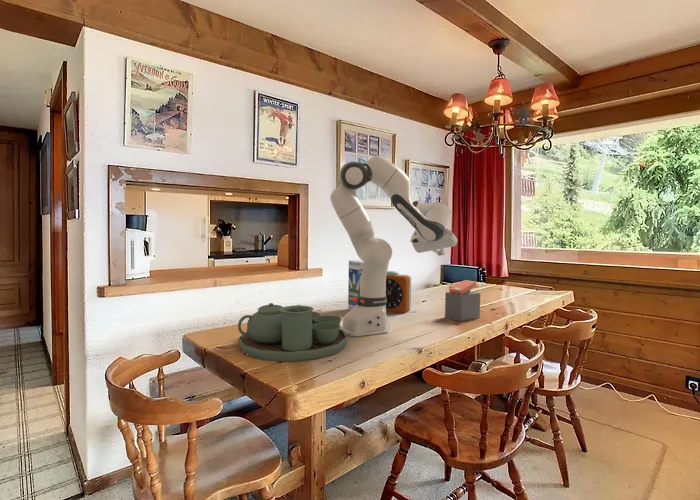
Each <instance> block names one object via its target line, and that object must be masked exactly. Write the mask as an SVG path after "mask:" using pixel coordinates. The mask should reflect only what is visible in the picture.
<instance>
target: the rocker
mask: <svg viewBox="0 0 700 500" xmlns="http://www.w3.org/2000/svg"><path fill="white" fill-rule="evenodd" d="M476 286H477V282H476V281H473V280H467V279H464V280H462V281H461V282H459V283H457V284H455V285H453V286H452V287H450V288H449V292H450V293H455V294H460V295H462V294H464V293H465V292H466V293H469V292H470V291H471V290H472V289H474V288H475V287H476Z"/></svg>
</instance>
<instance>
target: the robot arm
mask: <svg viewBox="0 0 700 500" xmlns="http://www.w3.org/2000/svg"><path fill="white" fill-rule="evenodd" d="M338 175H339V176H338V177H339V179H338V180H339V186H338V187H336V188H334V190H333V191H332V192H331V193H330V202H331V204H332V207H333V209H334V212H335V214H336V215H337V217H338V219H339V220H340V222H341V224H342V226H343V227H344V229H345V231H346V233H347V235H348V237H349V239H350V241H351V244H352V246H353V249H354V250H355V252H356V255H357V256H358V258H359V260H363V261H364V264H363V270H362V274H361V276H360V295H359V297H358V298H356V297H352V301H353V302H357V303H356V304H357V305H356V306H354V307H353V308H352V309H351V310H349V311H347V313H345V315H344V317H343V320H342V321H343V322H342V325H340V326H341V328H340V329H341V330H343V331H344V332H345V334H346V336H349V337H363V336H373V335H379V334H380V335H381V334H387V333H388V331H389V330H390V326H389V322H388V316H387V311H386V304H387V296H386V275H387V271H389V270H388V269H389V266H390V265H389V264H390V260H391V259H392V256H393V249H392V246H391V245H390V244H389V243H388V241H386V240H384V239H382V238H378V237H377V235H376V233H375V231H374V229H373V227H374V226H373V224H372V221H371V218H370V217H369V214H368V213H367V211H366V210H365V208H364V206H363V205H362V203H361V201H360V199H359V197H358V194H357V190H358V189H361V188H363V187H364V186H365V185H367V184H368V183H370V182H371V183H372V184H374V185H376V186H378V188H379V189H381V191H383V192H384V193H385V194H386V195H387V197H388V198H389V199H390V202H391V204H392V206H393V207H394V208H395V209H396V210H397V212H399V214H400V215H402V217H404V219H406V221H408V223H409V224H410V226H411V227H412V228H413V229H414V231H413V233H412V235H411V237H410V243H411V244H412V247H413V249H414V251H416V253H419V254H421V253H426V252H430V251H432V252H433V253H435V254H437V256H439V257H441V256H444V255H445V254H446V252H445V249H446V248H453V247H455V246H457V243H458V237H456V235H455V234H454V232H453V231H452V230H451V229H448V228H446V226H447V224H448V221H449V220H450V216H451V209H450V208H449V206H448V205H447V204H446V203H444V202H441V201H435V202H429V203H426V202H422V201H419V200H415V201H413V202H412V200H411V199H410V198H411V197H410V179H409V176H408V175H407V174H406V173H405V171H403V170H402V169H401V168H400V167H398V166H397V165H396V164H395V163H392V162H391V161H390V160H388V159H386V158H384V157H383V156H380V155H373V156H372V157H370V158H369V159H368V160H367V161H366V162H365V163H364V162H357V161H353V160H352V161H347V162H346V163H344V164H343V165H342V166H341V167H340V170H339V173H338Z"/></svg>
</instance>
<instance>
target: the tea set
mask: <svg viewBox="0 0 700 500" xmlns="http://www.w3.org/2000/svg"><path fill="white" fill-rule="evenodd" d="M314 309H315V308H314V307H312V306H309V305H301V304H296V305H287V306H282V305H279V304H274V303H272V302H270V303H268V304H265V305H262V306H260V307H258V309H257V312H255V313H253V314H245V315H243V316H242V317H240V319H239V320H238V322H237V329H238V332H239V333H240V334H241V335H240V336H238V340H237V341H238V345H239V347H240V349H241V350H242V353H243V354H244V353H245V354H244V355H247V354H248V355H247V356H250V357H253V358H257V359H259V360H263V361H265V360H266V361H278V362H297V361H298V362H299V361H309V360H311V361H312V360H318V359H322V358H324V357H328V356H331V355H334V354H335V355H336V354H338V353H339V352H340V351H342V350H343V348H344V347H345V346H347V344H348V335H346V334H345V332H344V331H343V330H341V329H340V328H341V326H342V325H340V324H341V321H342V318H341V317H339V316H337V315H321V313H320V312H318V311H314ZM246 319H248V320H247V325H246V326H247V327H246V331H245V332H244V331H243V330H242V323H243V321H244V320H246Z"/></svg>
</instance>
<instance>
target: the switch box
mask: <svg viewBox="0 0 700 500" xmlns="http://www.w3.org/2000/svg"><path fill="white" fill-rule="evenodd" d="M444 298H445V299H444V300H445V304H444V306H445V307H444V318H446V317H447V319H452V320H455V321H459V322H465V321H469V320H471V321H472V320H475V319H479V318H481V317H480V316H481V293H480V292H476V291H472V290H470V292H469V293H466V292H465V293H464V294H462V295H460V294H455V293H450V291H448V292H445V297H444Z"/></svg>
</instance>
